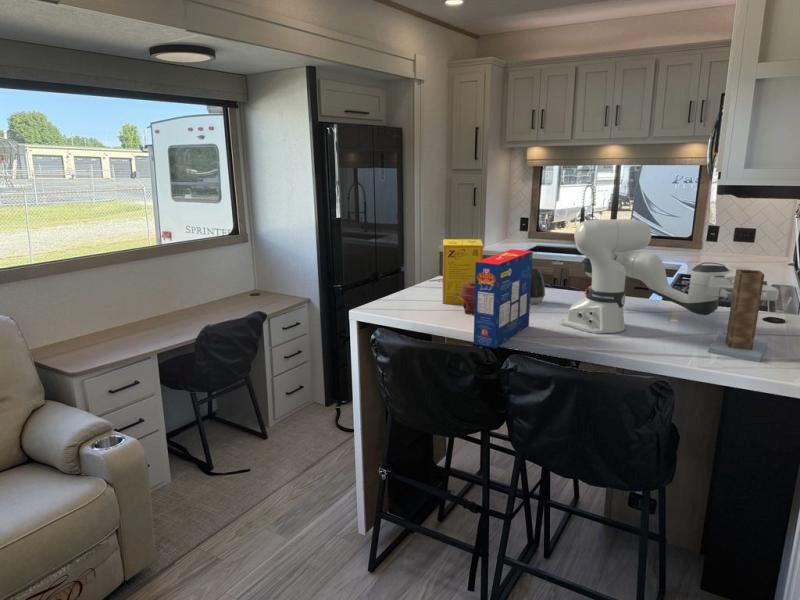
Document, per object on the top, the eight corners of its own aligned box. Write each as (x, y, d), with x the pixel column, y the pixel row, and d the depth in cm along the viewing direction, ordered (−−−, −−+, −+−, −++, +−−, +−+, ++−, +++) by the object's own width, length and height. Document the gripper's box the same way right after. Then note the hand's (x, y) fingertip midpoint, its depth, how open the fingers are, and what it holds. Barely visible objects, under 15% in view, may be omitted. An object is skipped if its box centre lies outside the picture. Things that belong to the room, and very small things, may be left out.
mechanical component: (458, 315, 218) (461, 308, 227) (484, 316, 216) (485, 309, 225) (459, 285, 214) (461, 279, 224) (485, 285, 212) (486, 280, 222)
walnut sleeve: (728, 347, 175) (740, 273, 169) (725, 341, 181) (736, 269, 175) (752, 350, 173) (764, 274, 167) (748, 343, 179) (759, 270, 173)
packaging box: (443, 294, 250) (443, 239, 244) (479, 294, 249) (480, 239, 242) (442, 303, 235) (443, 245, 228) (481, 304, 233) (482, 245, 227)
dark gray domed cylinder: (543, 299, 239) (545, 265, 235) (545, 306, 229) (547, 270, 225) (519, 299, 241) (520, 264, 237) (520, 305, 231) (521, 269, 227)
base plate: (707, 352, 176) (711, 328, 174) (718, 339, 188) (721, 317, 186) (759, 362, 167) (763, 337, 165) (767, 347, 179) (771, 324, 177)
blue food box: (508, 322, 208) (511, 249, 201) (528, 326, 203) (532, 251, 196) (473, 343, 186) (475, 261, 179) (495, 348, 181) (498, 264, 174)
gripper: (771, 298, 185) (782, 309, 173) (703, 293, 193) (708, 303, 180) (775, 280, 184) (785, 290, 171) (705, 275, 191) (710, 284, 179)
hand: (745, 297), depth 176 cm, fingers open, 8 cm apart
